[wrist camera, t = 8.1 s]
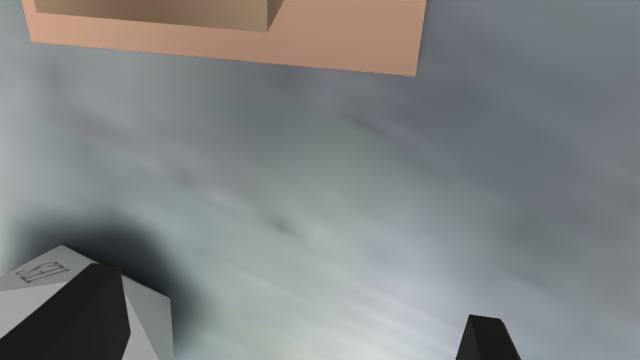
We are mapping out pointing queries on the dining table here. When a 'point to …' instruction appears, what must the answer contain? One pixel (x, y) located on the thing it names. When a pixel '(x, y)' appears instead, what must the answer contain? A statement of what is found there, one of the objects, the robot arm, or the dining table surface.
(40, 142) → the dining table surface
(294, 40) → the tile
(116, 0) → the cube
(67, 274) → the die
